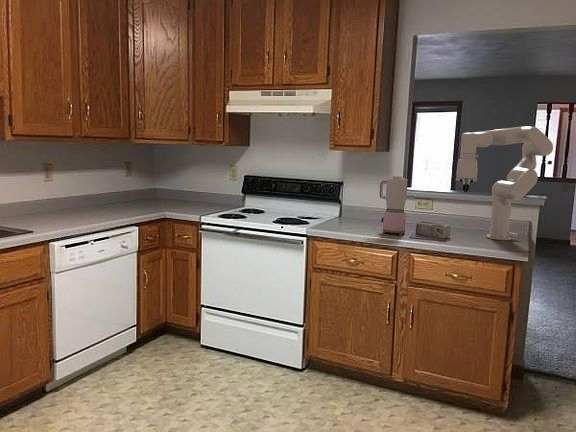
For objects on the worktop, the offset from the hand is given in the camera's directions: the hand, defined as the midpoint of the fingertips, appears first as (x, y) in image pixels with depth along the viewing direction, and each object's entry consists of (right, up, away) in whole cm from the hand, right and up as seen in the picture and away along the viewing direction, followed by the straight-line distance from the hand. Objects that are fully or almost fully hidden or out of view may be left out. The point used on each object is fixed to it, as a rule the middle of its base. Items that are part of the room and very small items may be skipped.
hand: (465, 191), depth 258 cm
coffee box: (-8, -21, +6) cm, 23 cm away
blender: (-35, -22, +18) cm, 46 cm away
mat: (-17, -24, +9) cm, 31 cm away
